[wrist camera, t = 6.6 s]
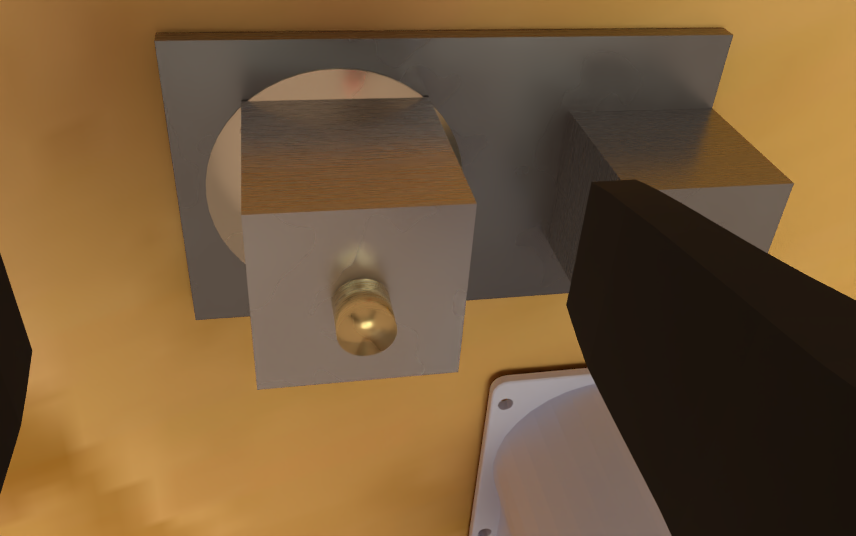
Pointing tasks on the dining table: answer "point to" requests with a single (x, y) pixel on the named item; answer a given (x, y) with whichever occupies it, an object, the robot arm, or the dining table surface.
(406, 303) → the block
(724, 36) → the plate
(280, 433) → the dining table surface
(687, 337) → the robot arm
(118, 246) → the dining table surface
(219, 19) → the dining table surface
